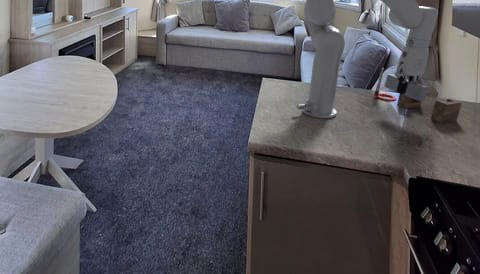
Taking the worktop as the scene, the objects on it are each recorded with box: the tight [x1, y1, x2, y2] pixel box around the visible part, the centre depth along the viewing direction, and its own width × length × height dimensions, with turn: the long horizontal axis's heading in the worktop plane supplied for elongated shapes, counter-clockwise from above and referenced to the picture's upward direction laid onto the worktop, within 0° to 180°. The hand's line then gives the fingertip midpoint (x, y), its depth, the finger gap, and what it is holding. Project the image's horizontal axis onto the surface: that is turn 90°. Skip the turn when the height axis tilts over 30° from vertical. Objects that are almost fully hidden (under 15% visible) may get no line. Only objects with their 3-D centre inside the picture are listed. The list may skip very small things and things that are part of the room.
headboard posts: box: [397, 93, 463, 124], centre depth 154 cm, size 22×8×8 cm, turn 26°
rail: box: [384, 73, 429, 101], centre depth 145 cm, size 17×3×5 cm, turn 26°
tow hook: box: [373, 67, 397, 102], centre depth 168 cm, size 8×13×9 cm
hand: (403, 92), depth 146 cm, fingers closed on rail, 3 cm apart
